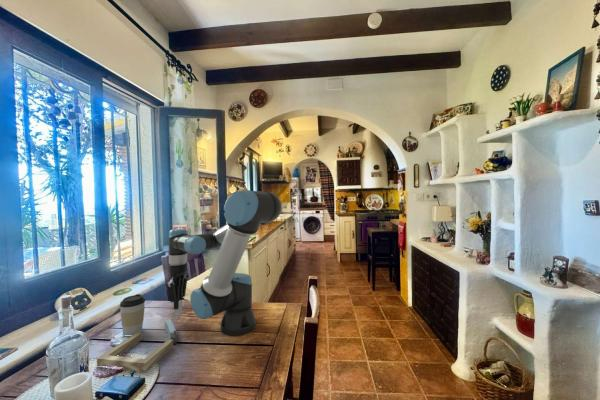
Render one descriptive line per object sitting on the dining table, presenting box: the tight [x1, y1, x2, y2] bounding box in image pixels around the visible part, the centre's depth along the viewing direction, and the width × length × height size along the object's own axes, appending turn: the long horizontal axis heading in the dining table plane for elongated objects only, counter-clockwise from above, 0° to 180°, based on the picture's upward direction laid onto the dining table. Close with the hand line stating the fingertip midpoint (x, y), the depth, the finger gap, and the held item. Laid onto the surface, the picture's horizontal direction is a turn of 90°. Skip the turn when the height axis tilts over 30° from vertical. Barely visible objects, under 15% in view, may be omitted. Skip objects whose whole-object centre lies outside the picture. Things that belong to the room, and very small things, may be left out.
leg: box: [164, 319, 177, 340], centre depth 104 cm, size 13×2×4 cm, turn 37°
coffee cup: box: [119, 293, 146, 335], centre depth 107 cm, size 9×9×15 cm
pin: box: [172, 330, 177, 347], centre depth 97 cm, size 2×2×5 cm
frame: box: [96, 332, 174, 373], centre depth 91 cm, size 18×17×3 cm
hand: (177, 315), depth 114 cm, fingers closed
